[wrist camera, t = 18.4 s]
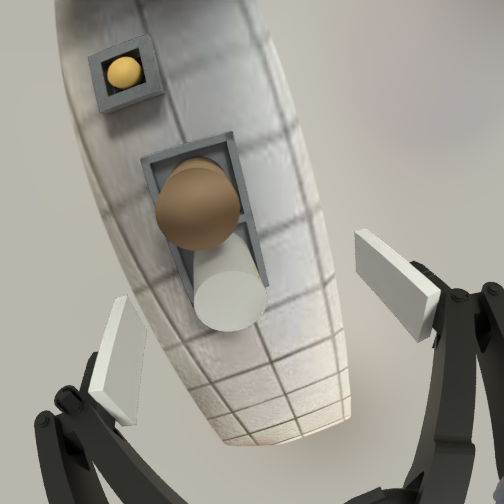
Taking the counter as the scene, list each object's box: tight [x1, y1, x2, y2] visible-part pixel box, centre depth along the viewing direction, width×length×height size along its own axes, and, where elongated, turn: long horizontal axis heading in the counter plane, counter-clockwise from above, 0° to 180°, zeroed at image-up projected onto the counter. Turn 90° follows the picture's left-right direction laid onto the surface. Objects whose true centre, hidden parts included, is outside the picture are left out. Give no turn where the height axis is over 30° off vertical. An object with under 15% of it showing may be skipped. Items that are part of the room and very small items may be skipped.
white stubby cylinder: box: [194, 233, 267, 332], centre depth 37 cm, size 8×8×12 cm
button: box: [108, 57, 143, 90], centre depth 28 cm, size 4×4×3 cm
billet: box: [156, 157, 240, 251], centre depth 32 cm, size 8×8×12 cm
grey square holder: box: [88, 34, 165, 113], centre depth 28 cm, size 8×8×4 cm
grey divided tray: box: [140, 131, 269, 308], centre depth 40 cm, size 23×12×3 cm, turn 13°
